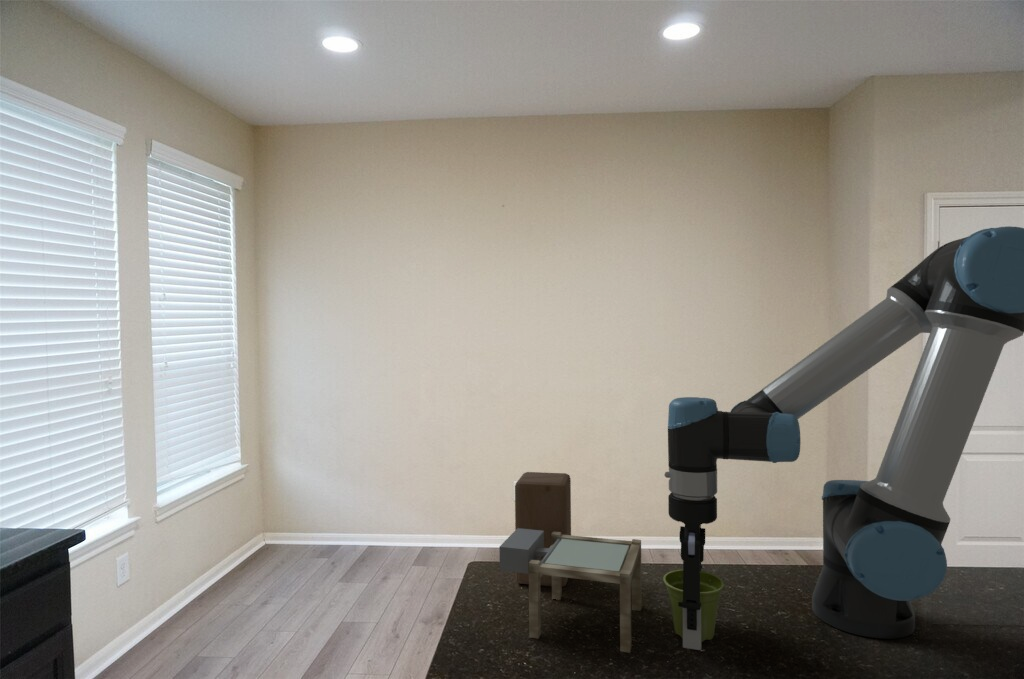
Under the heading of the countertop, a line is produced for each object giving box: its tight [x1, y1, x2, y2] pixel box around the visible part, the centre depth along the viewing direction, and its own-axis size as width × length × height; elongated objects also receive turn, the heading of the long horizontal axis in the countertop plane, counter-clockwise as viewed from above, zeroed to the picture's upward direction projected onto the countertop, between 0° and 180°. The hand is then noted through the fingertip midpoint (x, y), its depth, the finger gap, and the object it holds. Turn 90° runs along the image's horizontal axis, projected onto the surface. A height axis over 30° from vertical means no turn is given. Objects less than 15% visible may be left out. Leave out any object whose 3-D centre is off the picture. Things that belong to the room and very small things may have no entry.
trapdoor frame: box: [528, 532, 643, 654], centre depth 103 cm, size 16×16×12 cm
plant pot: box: [662, 569, 725, 643], centre depth 98 cm, size 9×9×9 cm
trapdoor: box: [499, 528, 629, 574], centre depth 104 cm, size 20×12×4 cm, turn 72°
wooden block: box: [514, 471, 572, 587], centre depth 121 cm, size 10×10×20 cm
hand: (693, 632), depth 98 cm, fingers open, 9 cm apart
